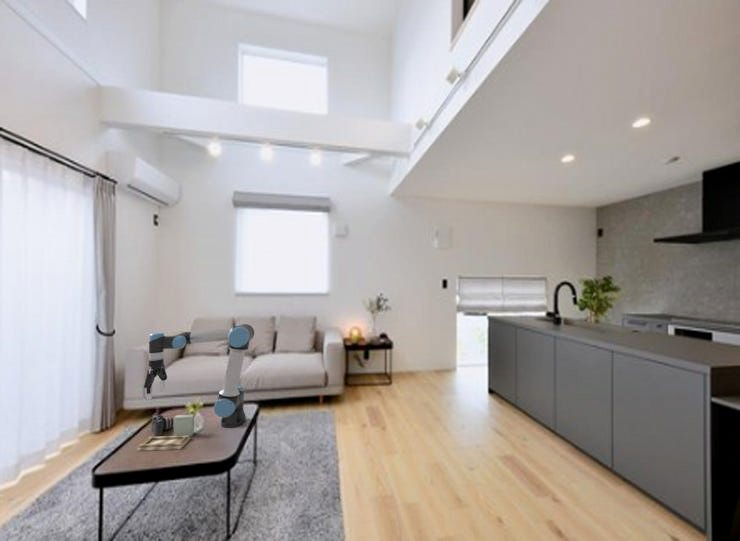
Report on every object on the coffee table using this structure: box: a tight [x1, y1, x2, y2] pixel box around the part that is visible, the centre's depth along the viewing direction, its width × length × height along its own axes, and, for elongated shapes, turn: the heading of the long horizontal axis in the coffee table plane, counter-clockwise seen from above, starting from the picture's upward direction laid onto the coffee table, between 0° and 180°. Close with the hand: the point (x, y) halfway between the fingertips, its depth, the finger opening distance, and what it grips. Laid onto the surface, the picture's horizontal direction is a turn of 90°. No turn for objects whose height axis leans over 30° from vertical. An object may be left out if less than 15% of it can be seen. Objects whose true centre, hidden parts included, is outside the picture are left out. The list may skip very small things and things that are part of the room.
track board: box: [136, 435, 191, 452], centre depth 184 cm, size 22×12×2 cm, turn 95°
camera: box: [151, 412, 174, 437], centre depth 200 cm, size 14×11×10 cm
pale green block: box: [173, 414, 195, 437], centre depth 196 cm, size 10×4×11 cm, turn 95°
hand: (155, 394), depth 196 cm, fingers open, 13 cm apart
